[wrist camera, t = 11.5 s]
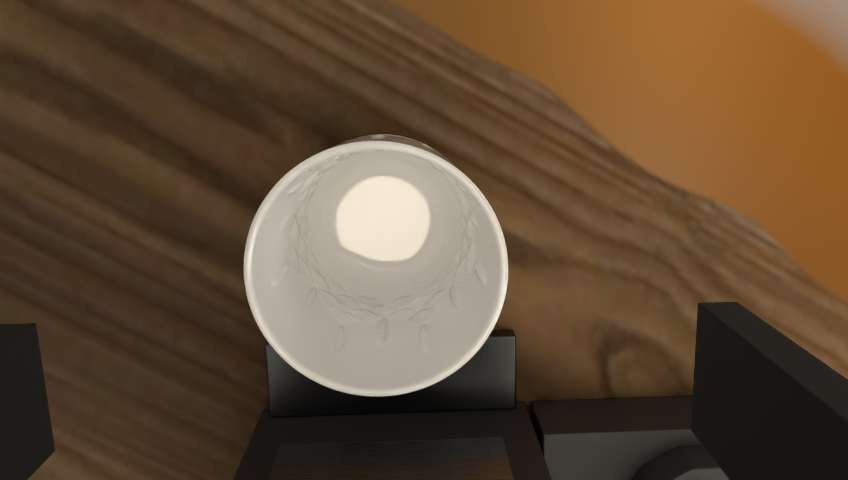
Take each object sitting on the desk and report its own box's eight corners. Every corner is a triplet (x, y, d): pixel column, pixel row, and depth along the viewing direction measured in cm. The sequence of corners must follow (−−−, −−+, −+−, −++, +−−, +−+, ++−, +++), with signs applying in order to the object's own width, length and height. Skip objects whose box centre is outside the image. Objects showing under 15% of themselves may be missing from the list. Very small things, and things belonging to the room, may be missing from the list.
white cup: (368, 81, 30) (350, 83, 21) (514, 197, 32) (562, 252, 22) (257, 227, 32) (190, 296, 22) (402, 334, 33) (399, 444, 23)
